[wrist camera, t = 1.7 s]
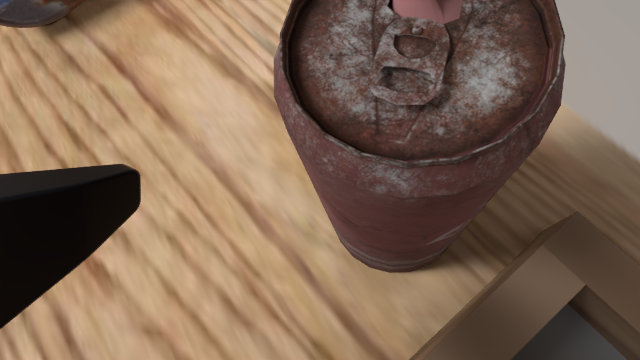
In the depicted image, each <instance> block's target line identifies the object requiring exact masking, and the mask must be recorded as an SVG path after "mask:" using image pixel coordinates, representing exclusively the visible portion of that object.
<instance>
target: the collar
mask: <svg viewBox="0 0 640 360" xmlns="http://www.w3.org/2000/svg"><path fill="white" fill-rule="evenodd" d="M409 360H640V264H639V263H637V262H636V261H635V260H634V259H633V258H631V257H630V256H629V255H628V254H627V253H626V252H624V251H623V250H622V249H621V248H620V247H618V246H617V245H616V244H615V243H614V242H612V241H611V240H610V239H609V238H608V237H607V236H605V235H604V234H603V233H602V232H601V231H599V230H598V229H597V228H596V227H595V226H593V225H592V224H591V223H590V222H589V221H588V220H586V219H585V218H584V217H583V216H582V215H580V214H579V213H578V212H576V213H574V214H572V215H570V216H569V217H567V218H565V219H563V220H562V221H560V222H558V223H556V224H555V225H553V226H551V227H549V228H548V229H546V230H544V231H543V232H542V233H541V234H540V235H539V236H538V237H537V238H536V239H535V240H534V241H533V242H532V243H531V244H530V245H529V246H528V247H527V248H525V249H524V250H523V251H522V252H521V253H520V254H519V255H518V256H517V257H516V258H515V259H514V260H513V261H512V262H511V263H510V264H509V265H508V266H507V267H506V268H505V269H504V270H502V271H501V272H500V273H499V274H498V275H497V276H496V277H495V278H494V279H493V280H492V281H491V282H490V283H489V284H488V285H487V286H486V287H485V288H484V289H483V290H482V291H481V292H480V293H478V294H477V295H476V296H475V297H474V298H473V299H472V300H471V301H470V302H469V303H468V304H467V305H466V306H465V307H464V308H463V309H462V310H461V311H460V312H459V313H458V314H457V315H455V316H454V317H453V318H452V319H451V320H450V321H449V322H448V323H447V324H446V325H445V326H444V327H443V328H442V329H441V330H440V331H439V332H438V333H437V334H436V335H435V336H434V337H432V338H431V339H430V340H429V341H428V342H427V343H426V344H425V345H424V346H423V347H422V348H421V349H420V350H419V351H418V352H417V353H416V354H415V355H414V356H413V357H412V358H411V359H409Z"/></svg>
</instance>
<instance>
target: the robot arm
mask: <svg viewBox="0 0 640 360" xmlns="http://www.w3.org/2000/svg"><path fill="white" fill-rule="evenodd" d="M140 202H141V182H140V174H139V172H138V171H137V170H136V169H134V168H131V167H129V166H127V165H124V164H113V165H102V166H90V167H79V168H67V169H56V170H44V171H33V172H21V173H10V174H0V329H1V328H2V327H4V326H5V325H6V324H7V323H9V322H10V321H11V320H12V319H13V318H15V317H16V316H17V315H18V314H20V313H21V312H22V311H23V310H25V309H26V308H27V307H28V306H30V305H31V304H32V303H33V302H34V301H36V300H37V299H38V298H39V297H41V296H42V295H43V294H44V293H46V292H47V291H48V290H49V289H50V288H52V287H53V286H54V285H55V284H57V283H58V282H59V281H60V280H62V279H63V278H64V277H65V276H66V275H68V274H69V273H70V272H71V271H73V270H74V269H75V268H76V267H78V266H79V265H80V264H81V263H82V262H83V261H85V260H86V259H87V258H88V257H89V256H90V255H91V254H92V253H94V252H95V251H96V250H97V249H98V248H99V247H100V246H101V245H102V244H103V243H104V242H105V241H106V240H107V239H108V238H109V237H110V236H111V235H112V234H113V233H114V232H115V231H116V230H117V229H118V228H119V227H120V226H121V225H122V224H123V223H124V222H125V221H126V220H127V219H128V218H129V217H130V216H131V215H132V214H133V213H134V212H135V211H136V210H137V209H138V207H139V205H140Z"/></svg>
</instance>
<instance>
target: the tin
mask: <svg viewBox="0 0 640 360" xmlns="http://www.w3.org/2000/svg"><path fill="white" fill-rule="evenodd" d="M83 1H85V0H0V25H2V26H7V27H17V28H31V27H38V26H43V25H47V24H50V23H52V22H55V21H57V20H59V19H61V18H63V17H64V16H65V15H67V14H68V13H69V12H71V11H72V10H73V9H74V8H76V7H77V6H78V5H80V4H81V3H82V2H83Z"/></svg>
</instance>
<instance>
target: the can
mask: <svg viewBox="0 0 640 360" xmlns="http://www.w3.org/2000/svg"><path fill="white" fill-rule="evenodd" d="M564 39H565V35H564V31H563V28H562V24H561V21H560V17H559V14H558V10H557V7H556V3H555V0H292V2H291V5H290V7H289V10H288V13H287V16H286V19H285V21H284V24H283V27H282V30H281V33H280V43H279V46H278V49H277V52H276V55H275V57H274V97H275V100H276V103H277V105H278V108H279V110H280V113H281V116H282V118H283V121H284V124H285V126H286V129H287V131H288V134H289V136H290V138H291V140H292V142H293V144H294V146H295V148H296V150H297V152H298V154H299V156H300V159H301V161H302V163H303V165H304V167H305V169H306V171H307V173H308V175H309V177H310V179H311V181H312V183H313V186H314V188H315V190H316V192H317V194H318V196H319V198H320V200H321V202H322V204H323V206H324V208H325V210H326V213H327V215H328V217H329V219H330V221H331V223H332V225H333V227H334V229H335V231H336V233H337V235H338V237H339V239H340V242H341V243H342V244H343V245H344V246H345V248H346V249H347V250H348V251H349V252H350V254H351V255H352V256H353V257H354V258H356V259H358V260H359V261H361V262H362V263H364V264H365V265H367V266H369V267H370V268H374V269H378V270H382V271H386V272H389V273H392V272H410V271H413V270H415V269H418V268H420V267H423V266H426V265H428V264H430V263H431V262H432V261H434V260H435V259H436V258H437V257H438V256H439V255H441V254H442V253H443V252H444V251H445V250H446V249H447V248H448V247H449V246H450V244H451V243H452V242H453V241H454V240H455V239H456V238H457V236H458V235H459V234H460V233H461V232H462V231H463V230H464V229H465V227H466V226H467V225H468V224H469V223H470V222H471V221H472V219H473V218H474V217H475V216H476V215H477V214H478V213H479V212H480V210H481V209H482V208H483V207H484V206H485V205H486V204H487V203H488V201H489V200H490V199H491V198H492V197H493V196H494V195H495V193H496V192H497V191H498V190H499V189H500V188H501V187H502V186H503V184H504V183H505V182H506V181H507V180H508V179H509V178H510V176H511V175H512V174H513V173H514V172H515V171H516V170H517V169H518V167H519V166H520V165H521V164H522V163H523V162H524V161H525V159H526V158H527V157H528V156H529V155H530V154H531V153H532V152H533V150H534V149H535V148H536V147H537V146H538V145H539V143H540V141H541V140H542V138H543V136H544V134H545V132H546V131H547V129H548V127H549V125H550V123H551V122H552V120H553V118H554V116H555V115H556V113H557V111H558V109H559V107H560V106H561V97H562V89H563V80H564V72H565V60H564V57H563V46H564Z"/></svg>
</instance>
